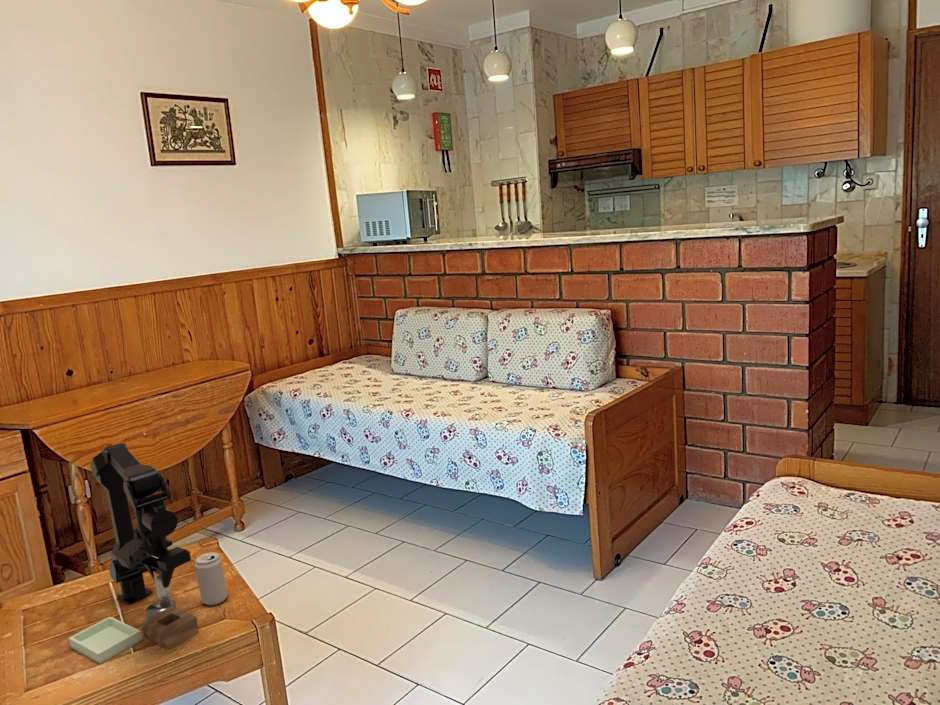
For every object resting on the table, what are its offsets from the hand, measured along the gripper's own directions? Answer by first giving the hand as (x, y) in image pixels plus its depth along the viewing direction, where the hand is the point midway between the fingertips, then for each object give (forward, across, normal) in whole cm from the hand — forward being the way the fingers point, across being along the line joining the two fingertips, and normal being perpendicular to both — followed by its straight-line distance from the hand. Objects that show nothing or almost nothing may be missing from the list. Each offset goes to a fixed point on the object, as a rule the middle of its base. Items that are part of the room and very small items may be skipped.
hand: (162, 585), depth 174 cm
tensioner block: (+13, 0, 0) cm, 13 cm away
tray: (+13, -11, -10) cm, 20 cm away
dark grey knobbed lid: (+13, -10, +4) cm, 17 cm away
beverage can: (+13, -4, +15) cm, 20 cm away
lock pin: (+5, 0, 0) cm, 5 cm away
